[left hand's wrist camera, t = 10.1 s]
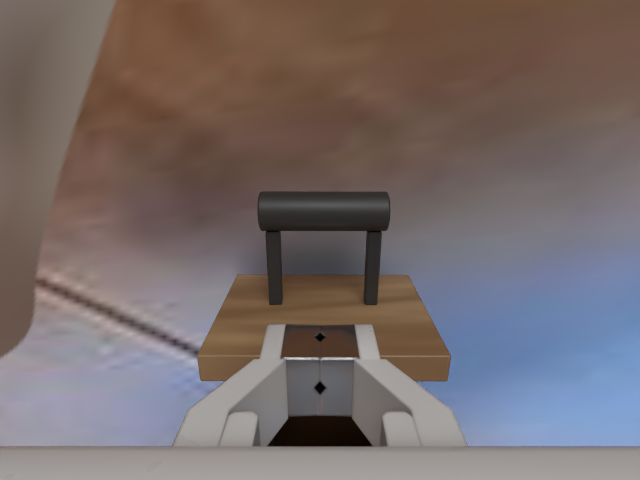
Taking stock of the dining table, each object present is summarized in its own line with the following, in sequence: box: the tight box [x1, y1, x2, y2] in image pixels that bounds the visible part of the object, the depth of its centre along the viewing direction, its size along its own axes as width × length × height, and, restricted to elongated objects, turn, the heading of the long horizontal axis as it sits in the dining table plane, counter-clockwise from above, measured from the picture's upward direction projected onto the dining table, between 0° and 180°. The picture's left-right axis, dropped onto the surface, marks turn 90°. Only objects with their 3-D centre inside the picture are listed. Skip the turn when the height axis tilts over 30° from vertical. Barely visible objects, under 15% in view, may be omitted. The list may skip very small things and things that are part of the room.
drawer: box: [197, 192, 451, 446], centre depth 19 cm, size 24×10×7 cm, turn 0°
